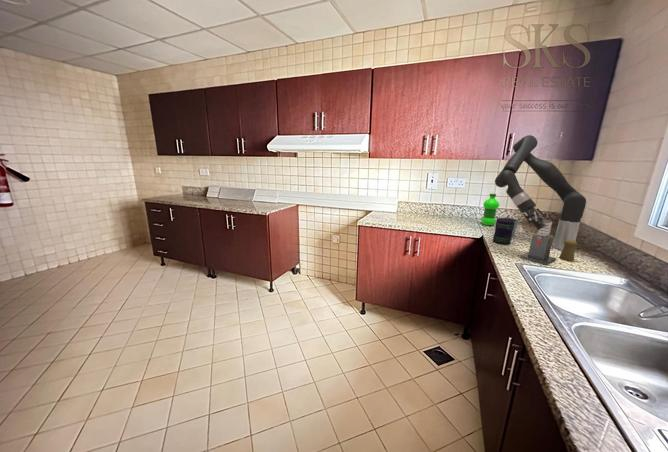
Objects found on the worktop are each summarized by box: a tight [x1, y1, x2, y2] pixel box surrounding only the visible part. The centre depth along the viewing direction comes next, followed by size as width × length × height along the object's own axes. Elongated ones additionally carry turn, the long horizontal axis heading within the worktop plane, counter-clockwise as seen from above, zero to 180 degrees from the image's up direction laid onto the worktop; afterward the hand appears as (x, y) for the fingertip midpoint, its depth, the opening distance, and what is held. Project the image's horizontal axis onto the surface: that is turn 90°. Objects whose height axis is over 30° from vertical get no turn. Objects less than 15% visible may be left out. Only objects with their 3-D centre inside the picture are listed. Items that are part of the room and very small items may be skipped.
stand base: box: [519, 232, 557, 266], centre depth 139 cm, size 12×12×14 cm
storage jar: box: [492, 217, 515, 246], centre depth 165 cm, size 10×10×15 cm
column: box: [537, 219, 553, 237], centre depth 137 cm, size 4×4×20 cm
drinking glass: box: [504, 217, 519, 239], centre depth 179 cm, size 10×10×12 cm
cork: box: [558, 239, 578, 263], centre depth 139 cm, size 6×6×11 cm
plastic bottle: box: [480, 193, 500, 226], centre depth 205 cm, size 10×10×25 cm
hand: (543, 227), depth 136 cm, fingers open, 8 cm apart
